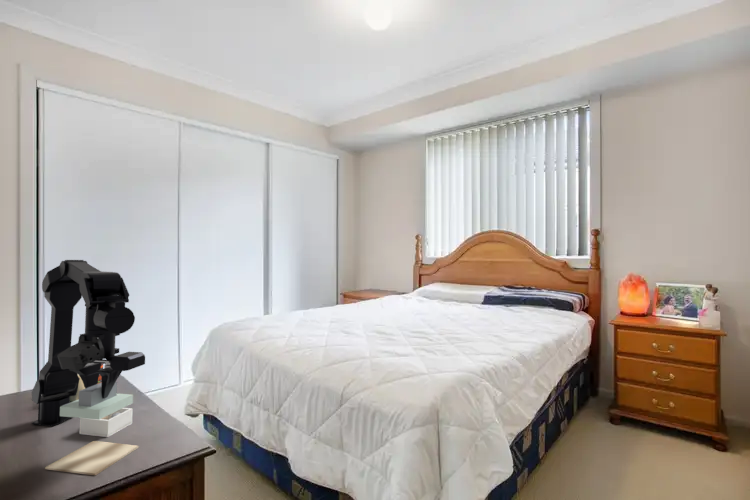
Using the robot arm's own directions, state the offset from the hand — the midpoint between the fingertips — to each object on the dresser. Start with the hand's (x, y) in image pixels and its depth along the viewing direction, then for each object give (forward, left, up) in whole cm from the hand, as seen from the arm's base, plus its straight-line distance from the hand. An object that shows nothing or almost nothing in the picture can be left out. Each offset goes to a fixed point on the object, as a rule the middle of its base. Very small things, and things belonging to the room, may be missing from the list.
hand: (98, 397), depth 88 cm
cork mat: (0, 0, -13) cm, 13 cm away
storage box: (-9, +13, -13) cm, 20 cm away
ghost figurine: (-34, +28, -14) cm, 46 cm away
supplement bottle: (-36, +36, -14) cm, 52 cm away
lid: (0, 0, -3) cm, 3 cm away
